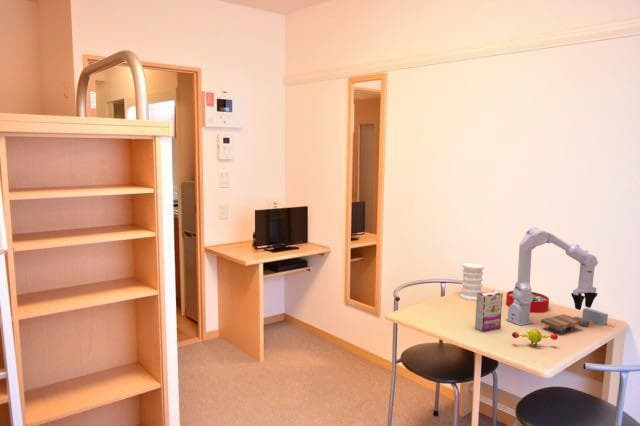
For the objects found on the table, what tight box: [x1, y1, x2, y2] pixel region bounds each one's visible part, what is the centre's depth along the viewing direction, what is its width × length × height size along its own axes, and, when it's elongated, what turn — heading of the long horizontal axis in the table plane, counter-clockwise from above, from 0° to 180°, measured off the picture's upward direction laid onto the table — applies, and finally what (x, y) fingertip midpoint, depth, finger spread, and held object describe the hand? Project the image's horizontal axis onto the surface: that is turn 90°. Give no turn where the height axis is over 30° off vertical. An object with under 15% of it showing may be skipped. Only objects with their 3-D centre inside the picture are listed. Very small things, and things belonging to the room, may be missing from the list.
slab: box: [540, 314, 582, 329], centre depth 211 cm, size 16×9×2 cm, turn 119°
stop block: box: [581, 307, 609, 326], centre depth 224 cm, size 3×10×5 cm, turn 29°
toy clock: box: [505, 290, 550, 314], centre depth 244 cm, size 20×6×20 cm
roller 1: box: [548, 325, 567, 334], centre depth 210 cm, size 3×6×3 cm, turn 29°
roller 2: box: [565, 325, 576, 331], centre depth 214 cm, size 3×6×3 cm, turn 29°
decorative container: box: [459, 262, 485, 302], centre depth 255 cm, size 12×12×18 cm
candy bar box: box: [474, 289, 504, 333], centre depth 209 cm, size 11×5×16 cm, turn 118°
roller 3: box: [573, 316, 591, 328], centre depth 219 cm, size 3×6×3 cm, turn 29°
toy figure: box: [511, 328, 559, 347], centre depth 192 cm, size 18×6×7 cm, turn 88°
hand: (582, 308), depth 218 cm, fingers open, 7 cm apart
